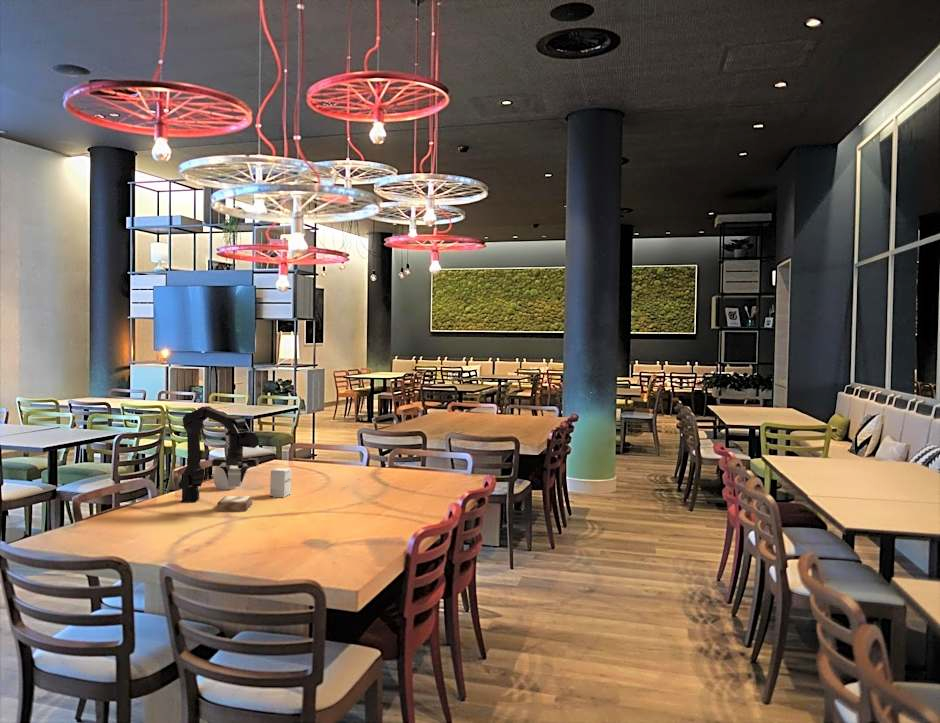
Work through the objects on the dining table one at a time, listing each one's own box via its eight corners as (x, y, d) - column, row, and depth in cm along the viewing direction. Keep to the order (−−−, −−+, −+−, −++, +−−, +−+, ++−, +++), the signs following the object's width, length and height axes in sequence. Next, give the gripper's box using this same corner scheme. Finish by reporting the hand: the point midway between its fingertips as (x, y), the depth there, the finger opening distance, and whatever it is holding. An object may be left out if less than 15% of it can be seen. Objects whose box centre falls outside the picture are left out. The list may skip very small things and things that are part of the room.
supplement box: (284, 497, 327) (284, 470, 327) (269, 496, 329) (270, 470, 328) (291, 494, 334) (291, 468, 334) (277, 493, 336) (277, 467, 336)
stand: (217, 511, 299) (217, 501, 299) (224, 504, 311) (224, 495, 311) (246, 511, 300) (246, 501, 300) (252, 504, 312) (252, 495, 312)
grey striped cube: (227, 486, 302) (228, 470, 302) (230, 484, 307) (231, 468, 307) (239, 486, 303) (240, 470, 302) (242, 484, 308) (242, 468, 308)
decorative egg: (244, 487, 348) (245, 457, 347) (225, 492, 337) (226, 461, 336) (227, 484, 353) (227, 455, 353) (207, 489, 342) (208, 458, 342)
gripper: (208, 448, 296) (207, 485, 296) (253, 449, 297) (253, 485, 298) (215, 444, 307) (215, 480, 307) (259, 445, 308) (258, 480, 309)
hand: (235, 481), depth 305 cm, fingers closed on grey striped cube, 5 cm apart
